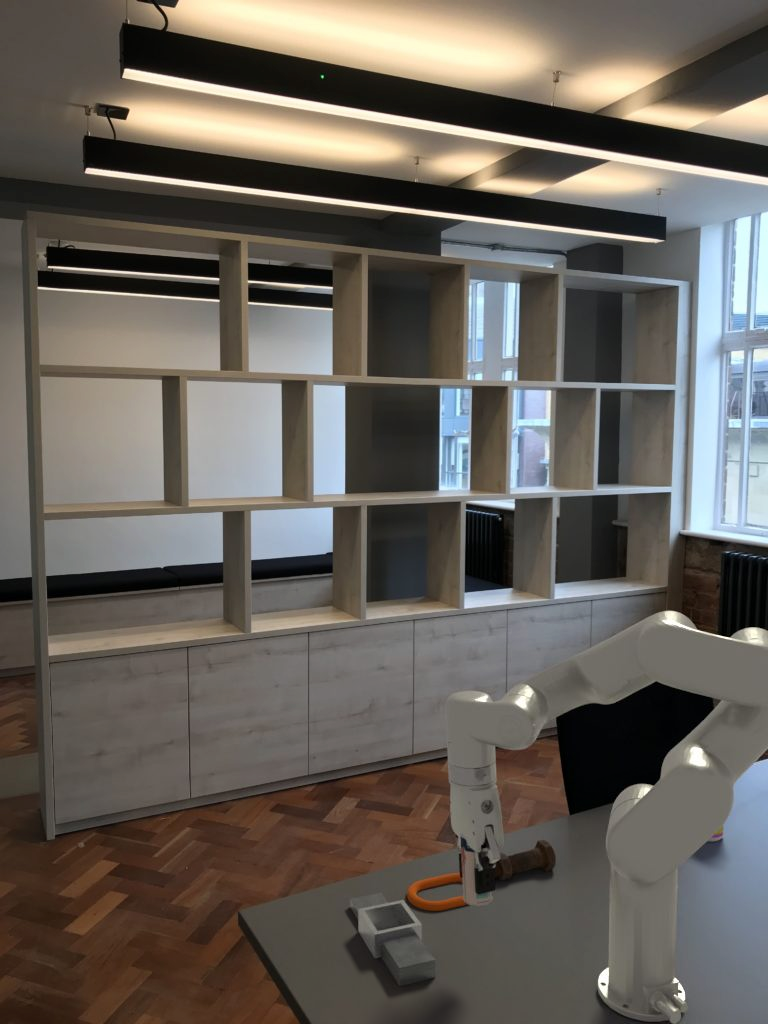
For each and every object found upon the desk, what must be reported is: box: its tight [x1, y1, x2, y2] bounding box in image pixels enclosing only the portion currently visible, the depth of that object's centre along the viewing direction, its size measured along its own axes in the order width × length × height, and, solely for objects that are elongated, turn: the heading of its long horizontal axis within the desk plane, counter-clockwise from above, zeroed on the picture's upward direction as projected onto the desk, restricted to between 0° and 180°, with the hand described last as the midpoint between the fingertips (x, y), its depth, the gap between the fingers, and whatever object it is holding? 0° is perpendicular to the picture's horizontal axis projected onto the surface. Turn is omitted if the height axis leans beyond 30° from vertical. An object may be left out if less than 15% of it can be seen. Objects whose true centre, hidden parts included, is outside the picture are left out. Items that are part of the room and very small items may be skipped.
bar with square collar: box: [349, 892, 436, 987], centre depth 143 cm, size 24×8×4 cm, turn 20°
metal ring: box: [406, 872, 469, 912], centre depth 158 cm, size 10×2×15 cm
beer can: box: [460, 833, 494, 908], centre depth 136 cm, size 5×5×12 cm
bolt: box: [494, 839, 557, 881], centre depth 165 cm, size 6×5×15 cm
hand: (477, 882), depth 136 cm, fingers closed on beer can, 4 cm apart
